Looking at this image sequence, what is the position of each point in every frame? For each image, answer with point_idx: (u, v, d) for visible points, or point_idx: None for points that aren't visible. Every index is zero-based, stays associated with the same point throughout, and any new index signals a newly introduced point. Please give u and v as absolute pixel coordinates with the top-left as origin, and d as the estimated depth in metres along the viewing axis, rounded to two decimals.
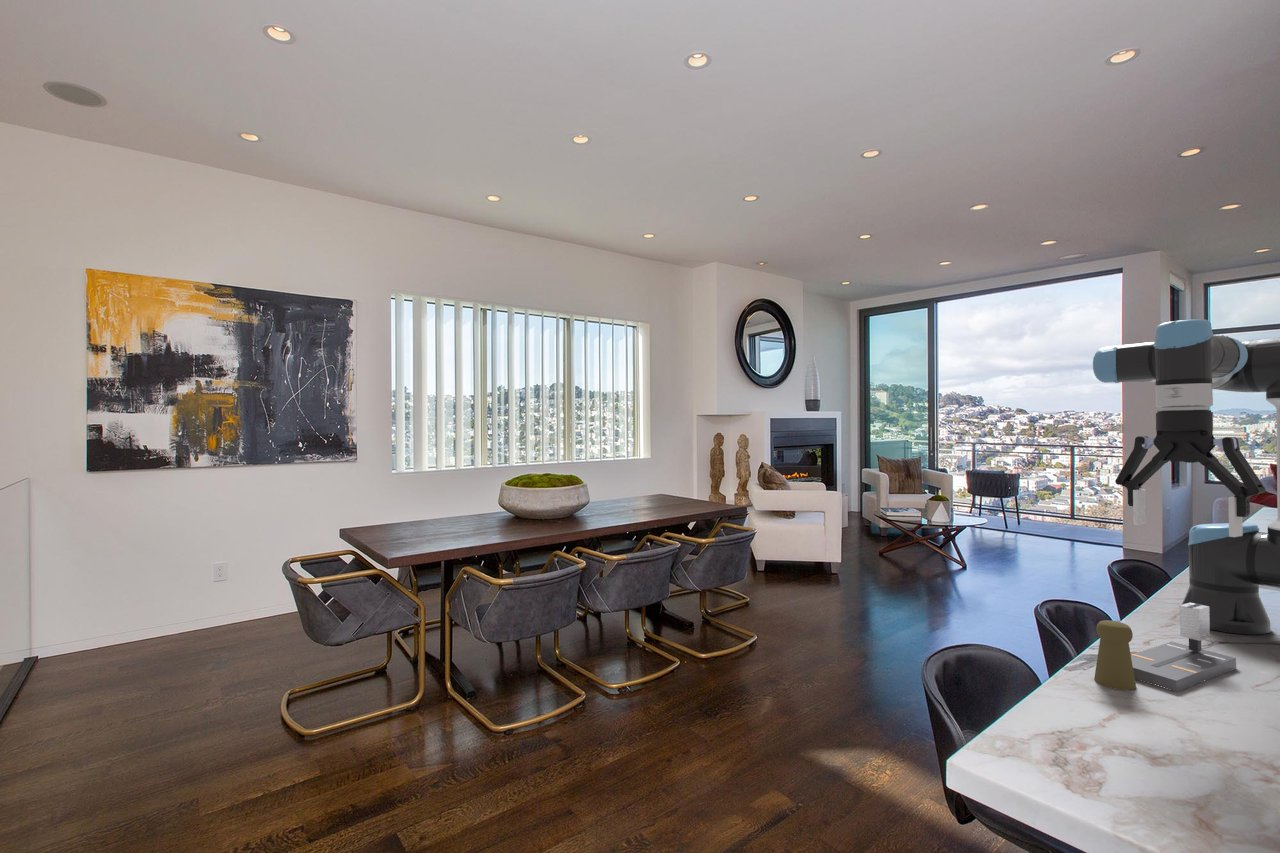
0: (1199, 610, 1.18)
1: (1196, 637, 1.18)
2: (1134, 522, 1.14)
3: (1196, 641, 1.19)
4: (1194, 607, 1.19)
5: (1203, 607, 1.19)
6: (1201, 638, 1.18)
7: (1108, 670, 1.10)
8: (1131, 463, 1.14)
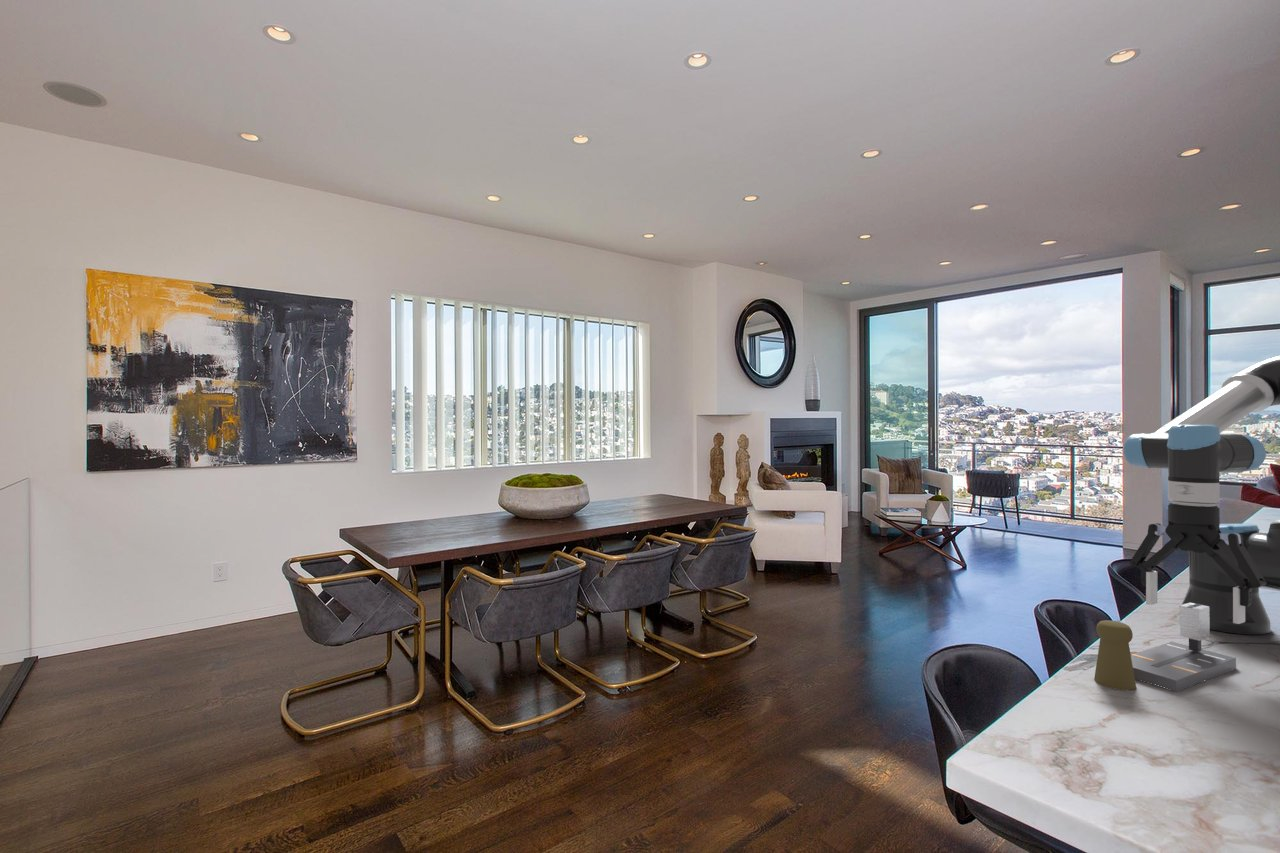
0: (1199, 610, 1.18)
1: (1196, 637, 1.18)
2: (1147, 601, 1.25)
3: (1196, 641, 1.19)
4: (1194, 607, 1.19)
5: (1203, 607, 1.19)
6: (1201, 638, 1.18)
7: (1108, 670, 1.10)
8: (1144, 547, 1.26)
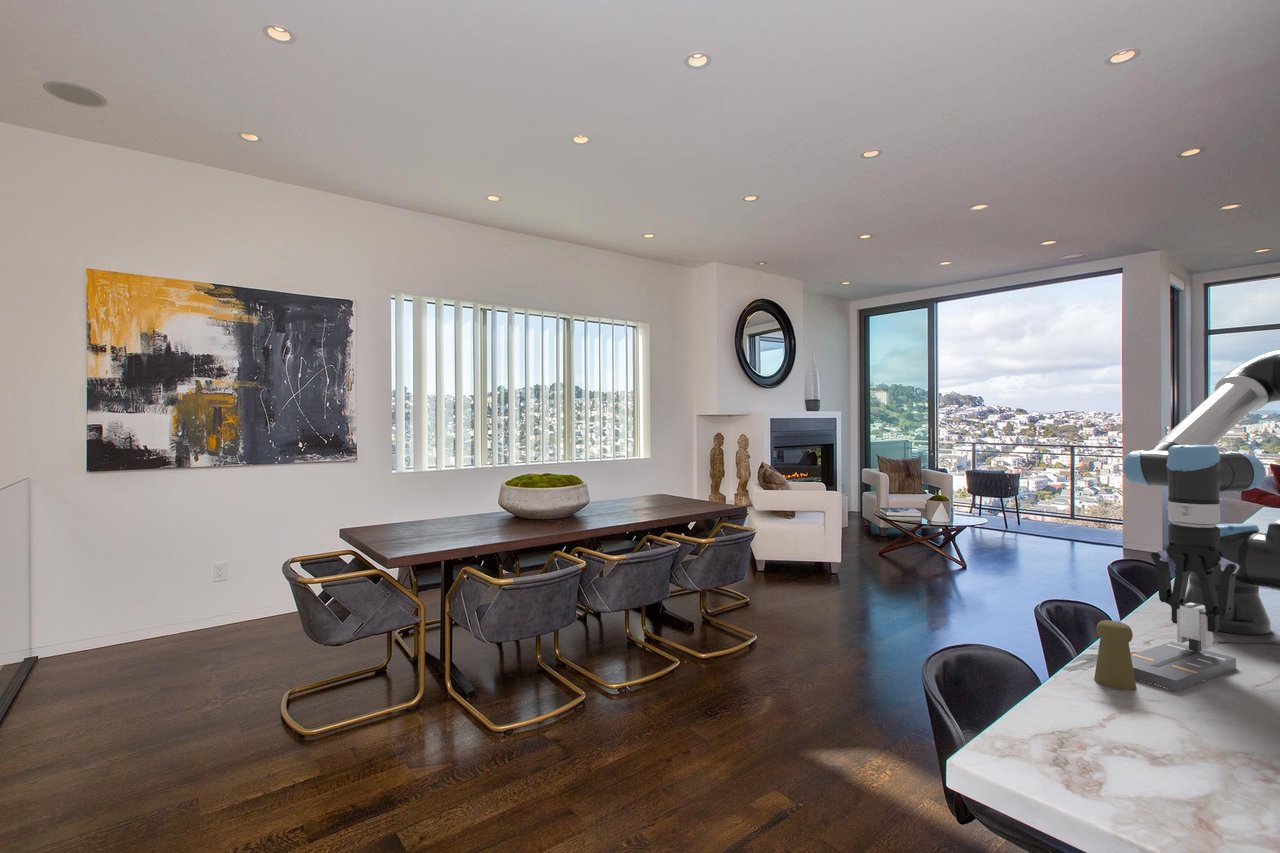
0: (1199, 610, 1.18)
1: (1196, 637, 1.18)
2: (1178, 639, 1.21)
3: (1196, 641, 1.19)
4: (1194, 607, 1.19)
5: (1203, 607, 1.19)
6: None
7: (1108, 670, 1.10)
8: (1162, 578, 1.23)
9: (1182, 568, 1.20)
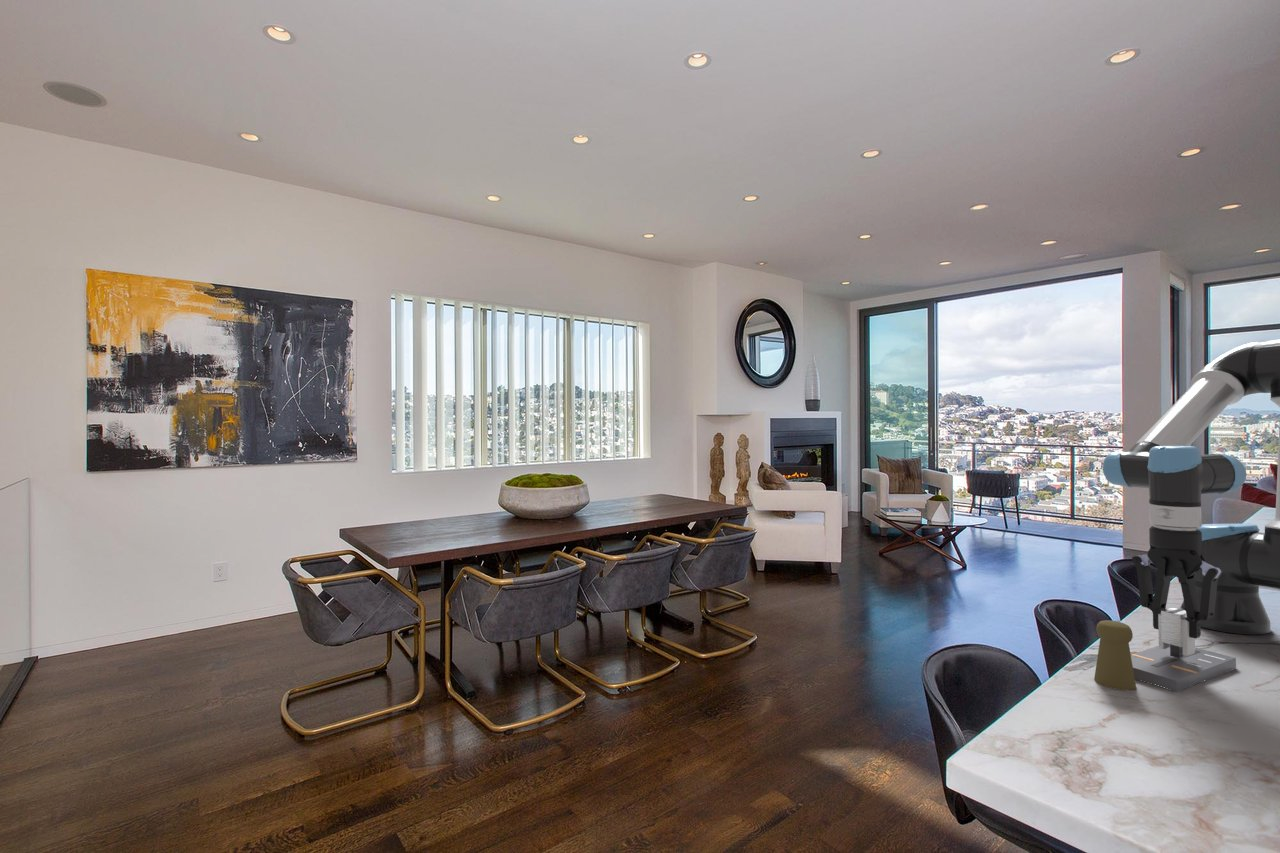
0: (1180, 615, 1.15)
1: (1177, 643, 1.15)
2: (1159, 645, 1.18)
3: (1177, 647, 1.16)
4: (1175, 612, 1.16)
5: (1185, 612, 1.16)
6: (1182, 644, 1.15)
7: (1108, 670, 1.10)
8: (1143, 583, 1.20)
9: (1163, 572, 1.17)
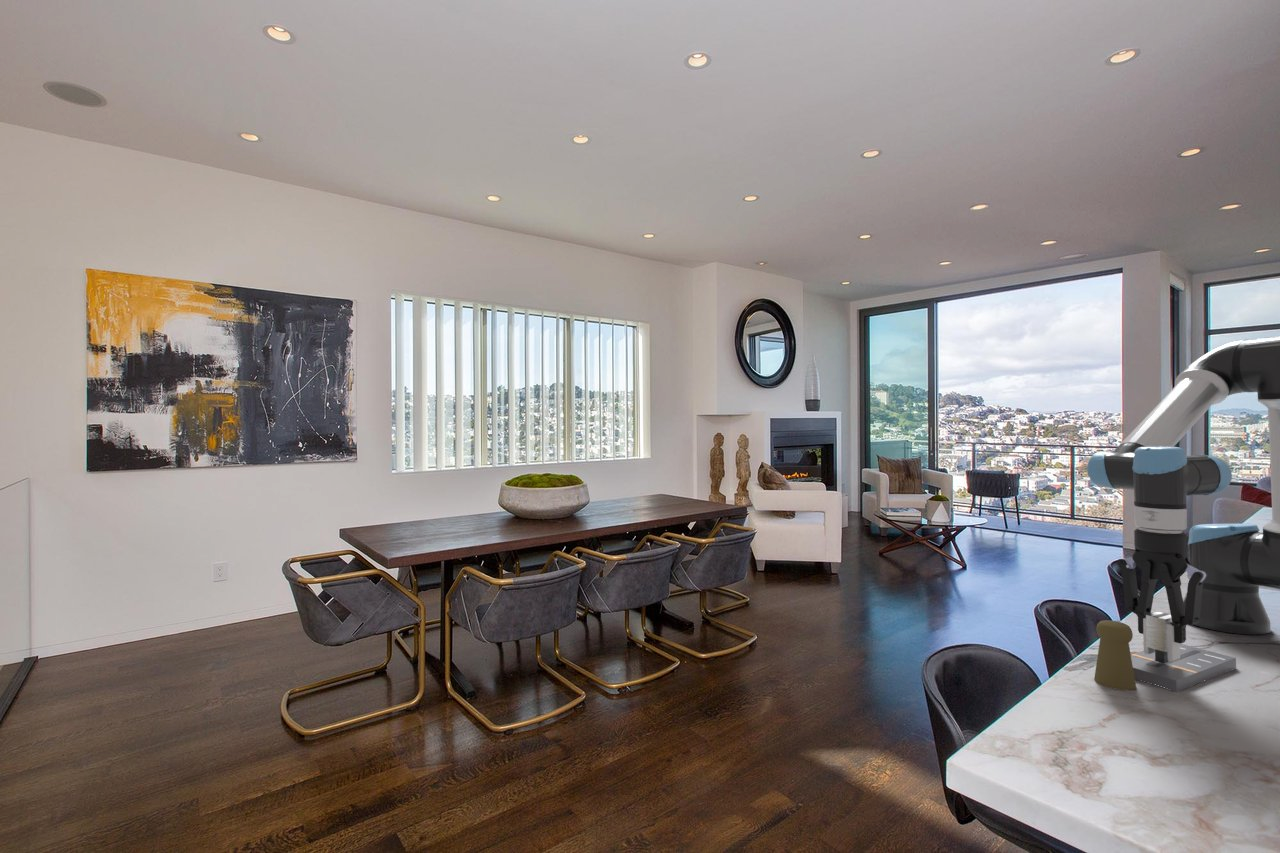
0: (1165, 620, 1.12)
1: (1162, 648, 1.13)
2: (1144, 650, 1.16)
3: (1163, 652, 1.14)
4: (1160, 617, 1.13)
5: (1170, 617, 1.13)
6: (1167, 649, 1.12)
7: (1108, 670, 1.10)
8: (1128, 586, 1.18)
9: (1148, 576, 1.15)
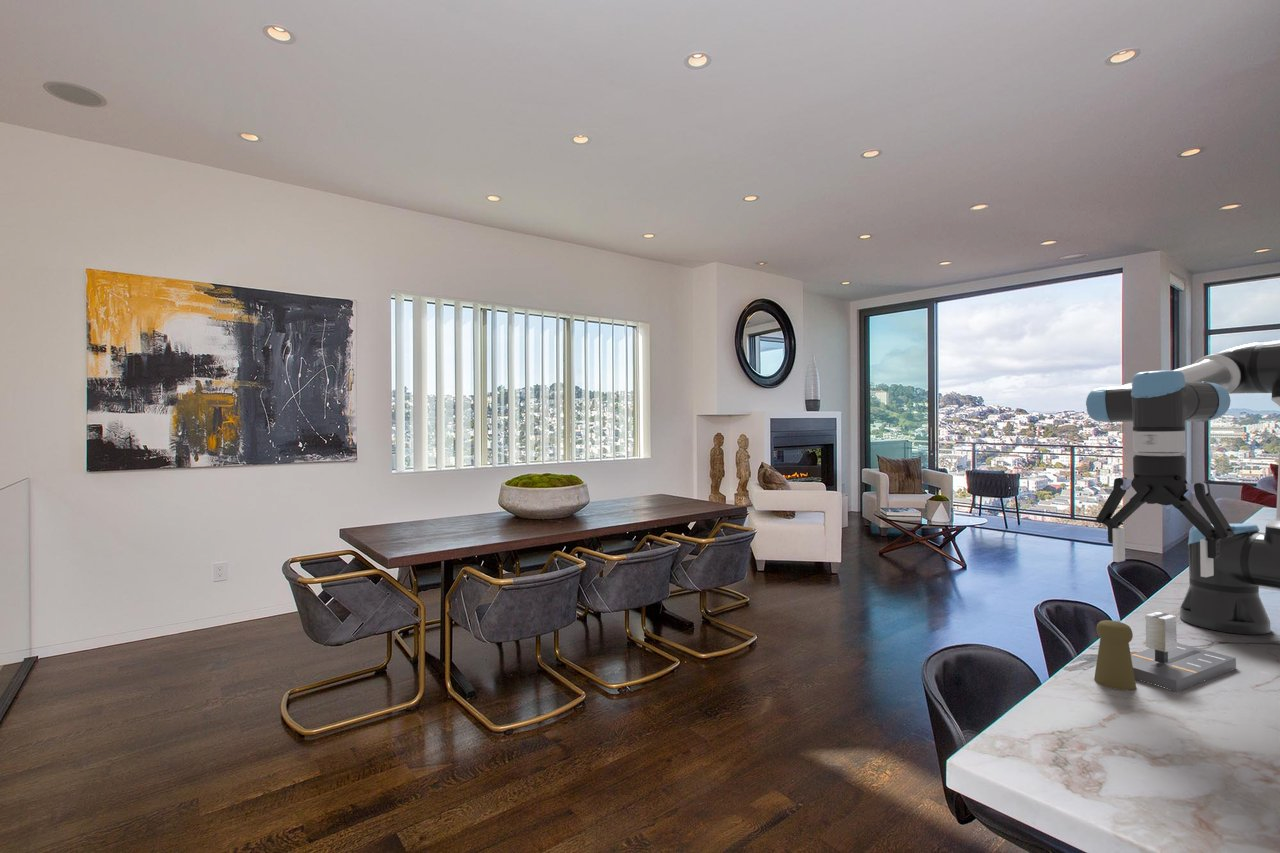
0: (1165, 620, 1.12)
1: (1162, 648, 1.12)
2: (1114, 559, 1.20)
3: (1162, 652, 1.13)
4: (1160, 617, 1.13)
5: (1169, 617, 1.13)
6: (1167, 649, 1.12)
7: (1108, 670, 1.10)
8: (1110, 503, 1.20)
9: (1139, 498, 1.16)
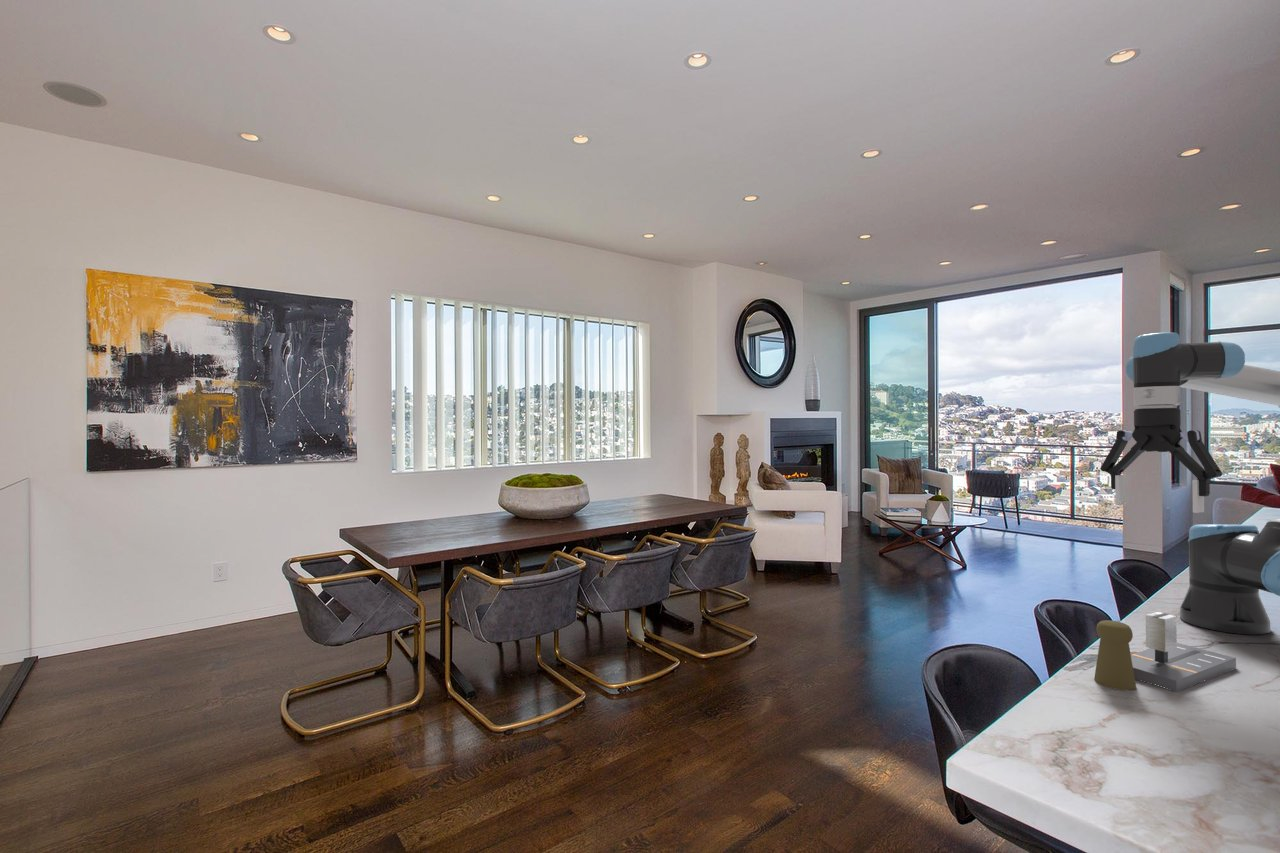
0: (1165, 620, 1.12)
1: (1162, 648, 1.12)
2: (1116, 502, 1.35)
3: (1162, 652, 1.13)
4: (1160, 617, 1.13)
5: (1169, 617, 1.13)
6: (1167, 649, 1.12)
7: (1108, 670, 1.10)
8: (1113, 453, 1.35)
9: (1139, 447, 1.30)
